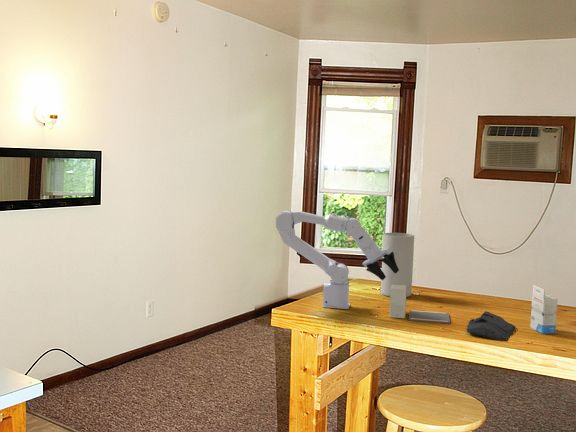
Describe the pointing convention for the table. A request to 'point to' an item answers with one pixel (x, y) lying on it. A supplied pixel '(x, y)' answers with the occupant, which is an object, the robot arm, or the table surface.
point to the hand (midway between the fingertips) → (390, 275)
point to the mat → (429, 316)
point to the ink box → (543, 312)
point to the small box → (397, 301)
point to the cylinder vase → (398, 261)
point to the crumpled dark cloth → (491, 327)
